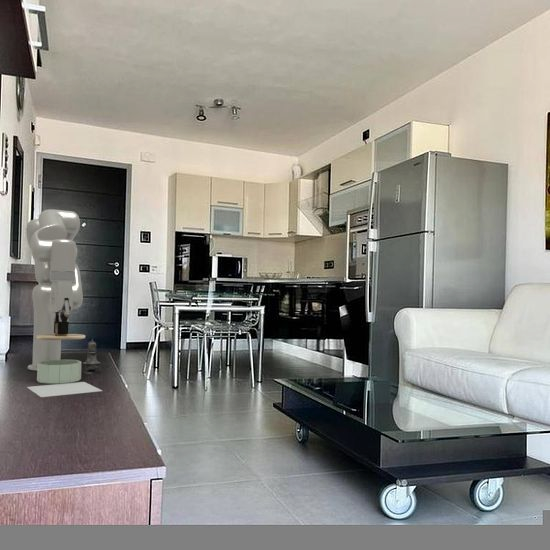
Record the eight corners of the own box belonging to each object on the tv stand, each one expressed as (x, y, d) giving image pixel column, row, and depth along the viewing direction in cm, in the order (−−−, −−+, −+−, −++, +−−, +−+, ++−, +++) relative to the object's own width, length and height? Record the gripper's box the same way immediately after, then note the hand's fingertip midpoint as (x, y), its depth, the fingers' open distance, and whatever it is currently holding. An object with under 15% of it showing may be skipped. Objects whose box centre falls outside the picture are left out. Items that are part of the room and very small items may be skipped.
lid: (30, 337, 170) (30, 322, 171) (77, 335, 180) (77, 321, 180) (42, 340, 159) (42, 325, 159) (91, 339, 168) (92, 324, 168)
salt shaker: (94, 374, 183) (95, 340, 183) (79, 373, 184) (80, 339, 184) (103, 371, 188) (104, 338, 189) (88, 371, 190) (89, 338, 190)
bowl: (33, 379, 170) (33, 361, 170) (73, 376, 178) (74, 358, 178) (43, 385, 160) (44, 366, 160) (85, 382, 168) (86, 363, 168)
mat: (26, 388, 156) (26, 386, 156) (84, 383, 166) (84, 381, 166) (41, 398, 142) (41, 397, 142) (102, 392, 153) (102, 390, 153)
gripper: (44, 277, 174) (42, 332, 173) (57, 276, 161) (55, 336, 160) (67, 278, 179) (65, 331, 178) (82, 277, 166) (80, 335, 165)
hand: (60, 333), depth 169 cm, fingers closed on lid, 3 cm apart
